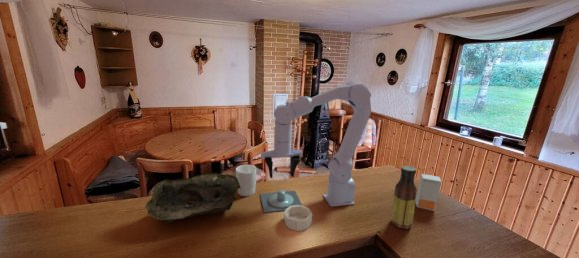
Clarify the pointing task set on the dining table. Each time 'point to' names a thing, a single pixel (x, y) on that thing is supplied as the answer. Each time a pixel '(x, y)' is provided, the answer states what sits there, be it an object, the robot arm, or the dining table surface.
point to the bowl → (298, 217)
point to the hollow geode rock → (192, 196)
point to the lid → (281, 199)
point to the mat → (269, 208)
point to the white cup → (246, 179)
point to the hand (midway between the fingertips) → (281, 175)
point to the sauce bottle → (404, 199)
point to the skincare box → (428, 192)
